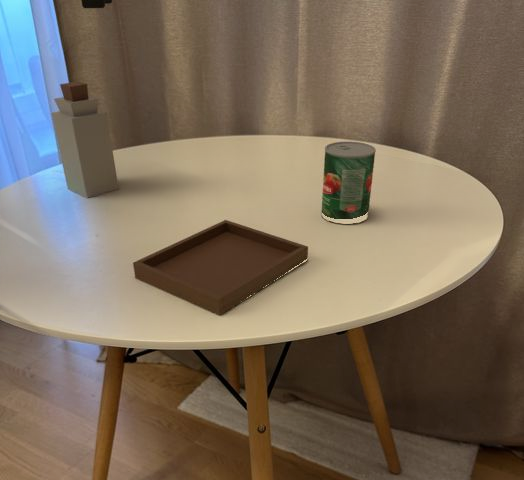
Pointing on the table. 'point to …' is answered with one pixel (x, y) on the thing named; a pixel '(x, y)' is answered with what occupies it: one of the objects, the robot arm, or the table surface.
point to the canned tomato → (347, 179)
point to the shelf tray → (220, 265)
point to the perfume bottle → (84, 142)
